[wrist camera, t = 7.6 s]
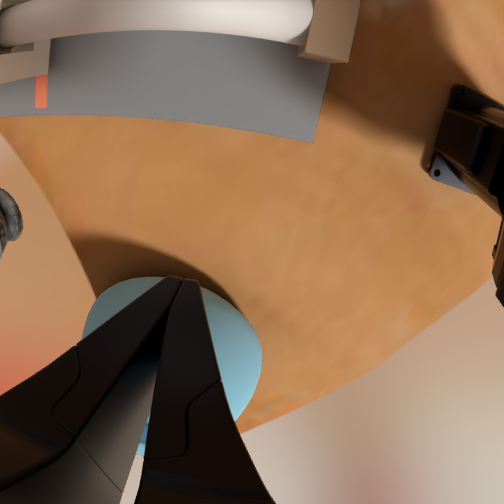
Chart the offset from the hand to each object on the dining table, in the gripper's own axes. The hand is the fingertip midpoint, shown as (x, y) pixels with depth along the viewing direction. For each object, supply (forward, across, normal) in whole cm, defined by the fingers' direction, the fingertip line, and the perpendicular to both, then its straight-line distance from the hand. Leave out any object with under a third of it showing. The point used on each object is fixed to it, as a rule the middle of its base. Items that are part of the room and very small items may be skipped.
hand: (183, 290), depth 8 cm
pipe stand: (+12, +7, -8) cm, 16 cm away
